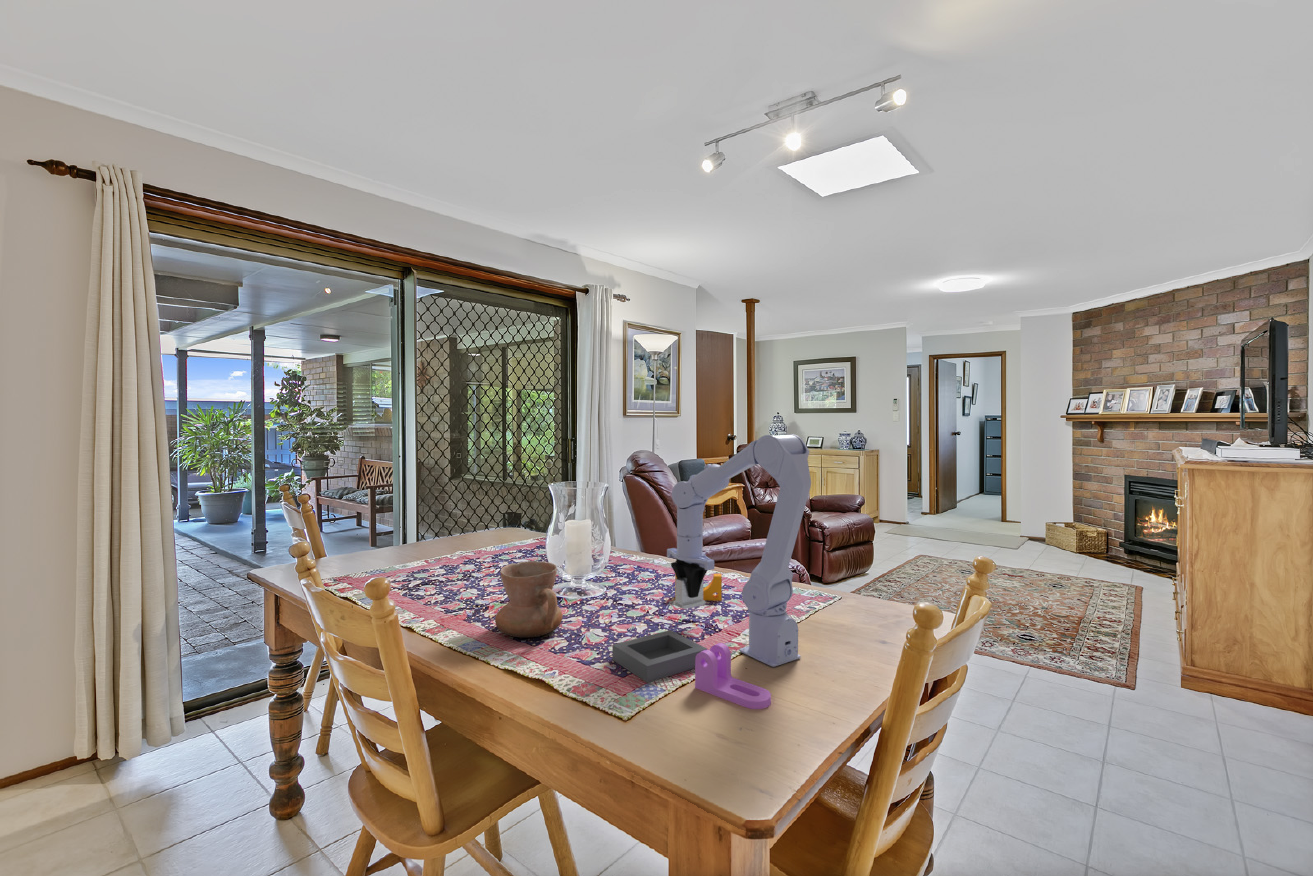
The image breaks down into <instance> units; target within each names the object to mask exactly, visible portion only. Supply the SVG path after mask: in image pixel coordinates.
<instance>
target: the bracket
mask: <svg viewBox="0 0 1313 876" xmlns="http://www.w3.org/2000/svg"><path fill="white" fill-rule="evenodd" d="M706 661H707V663H706ZM694 670H695V673H694V674H695V675H694V678H695V679H694V688H695V689H697V690H700V691H701V692H705V693H708V694H710V695H713V696H715V697H718V698H721V699H722V700H725V701H728V702H731V703H734V704H736V705H739V706H742V707H744V708H747V709H750V710H761V709H763V710H764V709H766V708H768V707H770V706H771V703H772V693H771V692H770V691H769V690H768V689H766V688H764V687H761V686H758V685H755V684H753V683H750V682H747V681H744V680H741V679H739V678H736V677H733V676H732V674H731V672H732V654H731V649H729V646H728V645H726V644H725V643H723V642H718V643H716V644H714V645H712V646H710V649H708V650H704V651H702V652H700V653H698V654H697V655H696V658H695V668H694Z"/></svg>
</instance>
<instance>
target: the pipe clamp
mask: <svg viewBox="0 0 1313 876" xmlns="http://www.w3.org/2000/svg"><path fill="white" fill-rule="evenodd" d="M674 574H675V573H674ZM674 577H675V578H674V579H675V580H674V581H675V582H674V599H675V598H676V579H677V577H676V574H675V575H674ZM722 578H723V576H722V573H713V577H712V579H711V582H710V583H709V584H708V585H707V586H705V587H704V586H703V600H704V601H713V602H714V601H715V602H717V601H719V602H722V600H723V599H722V595H723V594H722V593H723V592H722V587H723V584H722V583H723V579H722Z"/></svg>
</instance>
